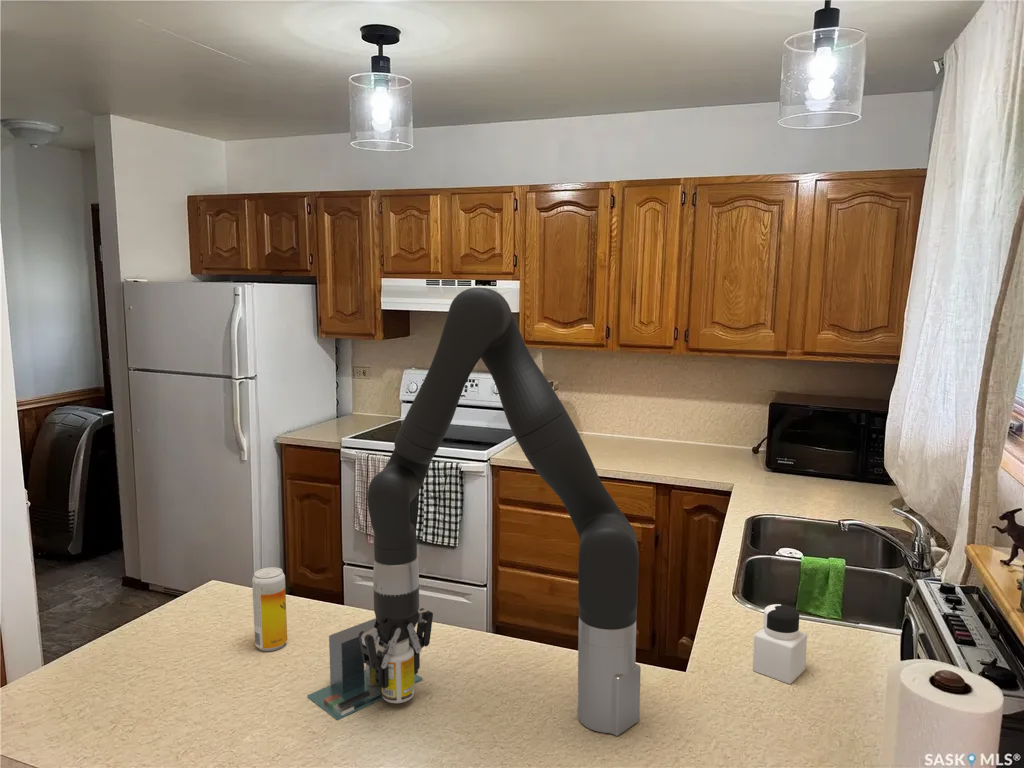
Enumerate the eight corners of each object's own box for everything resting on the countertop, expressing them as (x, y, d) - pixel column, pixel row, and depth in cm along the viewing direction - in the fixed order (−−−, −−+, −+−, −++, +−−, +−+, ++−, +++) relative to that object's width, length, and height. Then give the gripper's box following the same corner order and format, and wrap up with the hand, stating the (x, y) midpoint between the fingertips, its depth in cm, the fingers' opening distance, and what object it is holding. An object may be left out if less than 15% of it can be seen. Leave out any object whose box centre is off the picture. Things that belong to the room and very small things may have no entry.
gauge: (422, 679, 130) (421, 629, 128) (337, 720, 117) (335, 664, 116) (391, 661, 136) (390, 612, 135) (307, 697, 124) (305, 644, 123)
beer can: (294, 642, 143) (291, 570, 142) (269, 655, 138) (265, 580, 136) (273, 635, 147) (270, 564, 145) (248, 647, 142) (245, 574, 140)
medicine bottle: (805, 670, 133) (809, 608, 132) (790, 685, 128) (793, 620, 126) (768, 657, 138) (771, 597, 136) (751, 671, 133) (754, 609, 131)
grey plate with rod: (408, 681, 127) (407, 639, 127) (341, 712, 118) (340, 667, 117) (381, 665, 133) (381, 625, 132) (316, 693, 124) (314, 650, 123)
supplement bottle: (415, 686, 126) (414, 630, 124) (414, 704, 120) (413, 645, 119) (382, 688, 125) (381, 631, 124) (380, 705, 120) (379, 647, 118)
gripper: (373, 603, 112) (375, 705, 114) (443, 578, 123) (444, 671, 125) (346, 590, 118) (349, 687, 120) (416, 566, 128) (417, 656, 130)
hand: (398, 679), depth 122 cm, fingers closed on supplement bottle, 5 cm apart
